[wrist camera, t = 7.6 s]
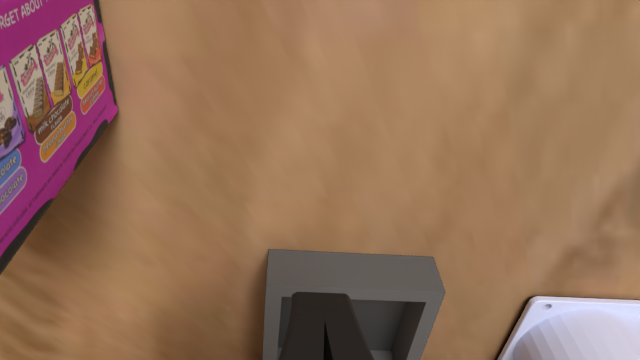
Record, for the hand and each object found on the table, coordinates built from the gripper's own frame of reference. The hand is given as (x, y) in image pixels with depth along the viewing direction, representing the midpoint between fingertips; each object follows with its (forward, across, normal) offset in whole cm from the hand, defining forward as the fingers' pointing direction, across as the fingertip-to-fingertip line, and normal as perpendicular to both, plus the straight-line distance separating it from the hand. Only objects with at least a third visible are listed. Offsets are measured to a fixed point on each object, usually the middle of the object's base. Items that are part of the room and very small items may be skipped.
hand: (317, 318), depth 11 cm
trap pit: (+10, -3, +12) cm, 16 cm away
